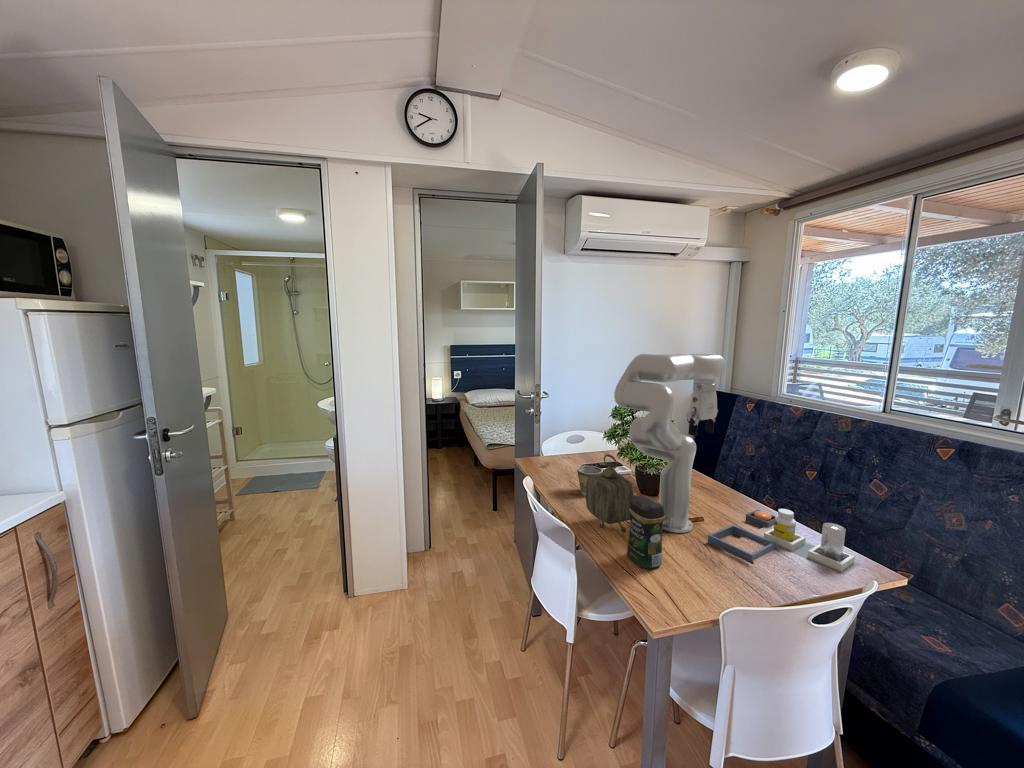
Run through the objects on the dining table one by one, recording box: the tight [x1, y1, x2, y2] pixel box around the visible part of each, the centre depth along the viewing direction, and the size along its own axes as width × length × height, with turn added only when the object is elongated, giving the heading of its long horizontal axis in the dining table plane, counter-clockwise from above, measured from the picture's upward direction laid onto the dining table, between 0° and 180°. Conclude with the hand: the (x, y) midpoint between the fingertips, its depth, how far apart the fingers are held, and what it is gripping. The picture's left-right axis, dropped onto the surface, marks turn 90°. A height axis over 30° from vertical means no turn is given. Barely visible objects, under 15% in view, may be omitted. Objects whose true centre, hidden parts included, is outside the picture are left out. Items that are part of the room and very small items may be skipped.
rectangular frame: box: [707, 524, 777, 564], centre depth 122 cm, size 13×13×2 cm
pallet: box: [761, 527, 860, 575], centre depth 118 cm, size 10×22×3 cm, turn 31°
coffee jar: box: [626, 494, 665, 570], centre depth 113 cm, size 10×8×19 cm
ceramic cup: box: [576, 465, 604, 497], centre depth 163 cm, size 13×10×10 cm
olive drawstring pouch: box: [585, 454, 634, 534], centre depth 132 cm, size 14×9×25 cm, turn 23°
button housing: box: [744, 509, 777, 529], centre depth 137 cm, size 7×7×2 cm
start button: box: [754, 510, 772, 522], centre depth 137 cm, size 5×5×2 cm
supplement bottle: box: [773, 508, 797, 542], centre depth 123 cm, size 5×5×10 cm
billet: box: [820, 522, 847, 562], centre depth 113 cm, size 5×5×10 cm
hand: (701, 433), depth 147 cm, fingers open, 9 cm apart
